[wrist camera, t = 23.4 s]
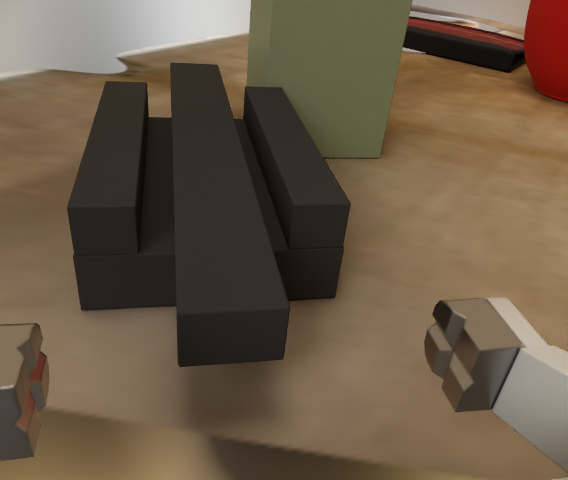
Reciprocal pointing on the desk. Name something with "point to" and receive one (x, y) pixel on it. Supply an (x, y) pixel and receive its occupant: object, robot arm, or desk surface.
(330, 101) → the stand
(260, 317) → the pad strip
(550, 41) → the ceramic cup
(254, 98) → the dock pad
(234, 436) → the desk surface
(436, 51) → the binder
